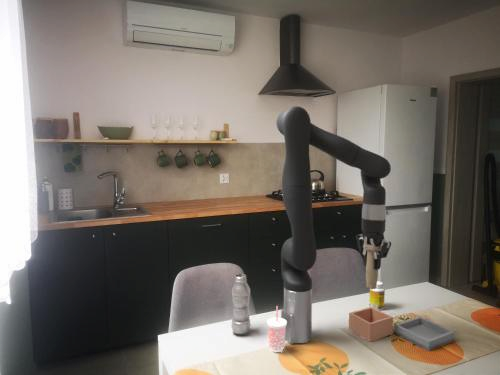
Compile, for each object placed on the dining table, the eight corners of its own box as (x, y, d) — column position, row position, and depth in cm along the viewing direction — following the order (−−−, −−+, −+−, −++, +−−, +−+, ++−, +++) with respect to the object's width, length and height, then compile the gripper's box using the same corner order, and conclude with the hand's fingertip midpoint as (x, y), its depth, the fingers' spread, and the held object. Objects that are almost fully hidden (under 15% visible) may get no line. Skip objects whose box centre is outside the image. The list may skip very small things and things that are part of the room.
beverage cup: (274, 342, 120) (274, 300, 119) (290, 348, 116) (290, 305, 115) (263, 349, 115) (263, 306, 114) (279, 356, 111) (279, 312, 110)
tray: (428, 351, 114) (428, 341, 114) (394, 333, 125) (394, 324, 125) (454, 340, 120) (455, 332, 120) (419, 324, 132) (419, 316, 131)
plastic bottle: (227, 334, 125) (227, 277, 123) (237, 326, 131) (237, 271, 129) (244, 338, 122) (244, 280, 120) (254, 330, 128) (253, 274, 126)
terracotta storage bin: (369, 342, 120) (370, 324, 119) (348, 329, 128) (349, 312, 128) (392, 334, 125) (393, 317, 124) (370, 322, 133) (371, 306, 132)
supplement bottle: (379, 312, 142) (380, 286, 141) (366, 307, 146) (367, 282, 145) (386, 307, 146) (387, 282, 145) (373, 303, 150) (374, 279, 149)
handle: (372, 284, 128) (373, 241, 127) (383, 290, 122) (384, 246, 121) (359, 285, 127) (361, 242, 126) (369, 292, 121) (371, 247, 120)
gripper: (349, 214, 127) (348, 263, 129) (382, 221, 114) (380, 275, 116) (365, 213, 130) (364, 260, 132) (399, 219, 118) (396, 271, 120)
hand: (371, 267), depth 124 cm, fingers closed on handle, 3 cm apart
